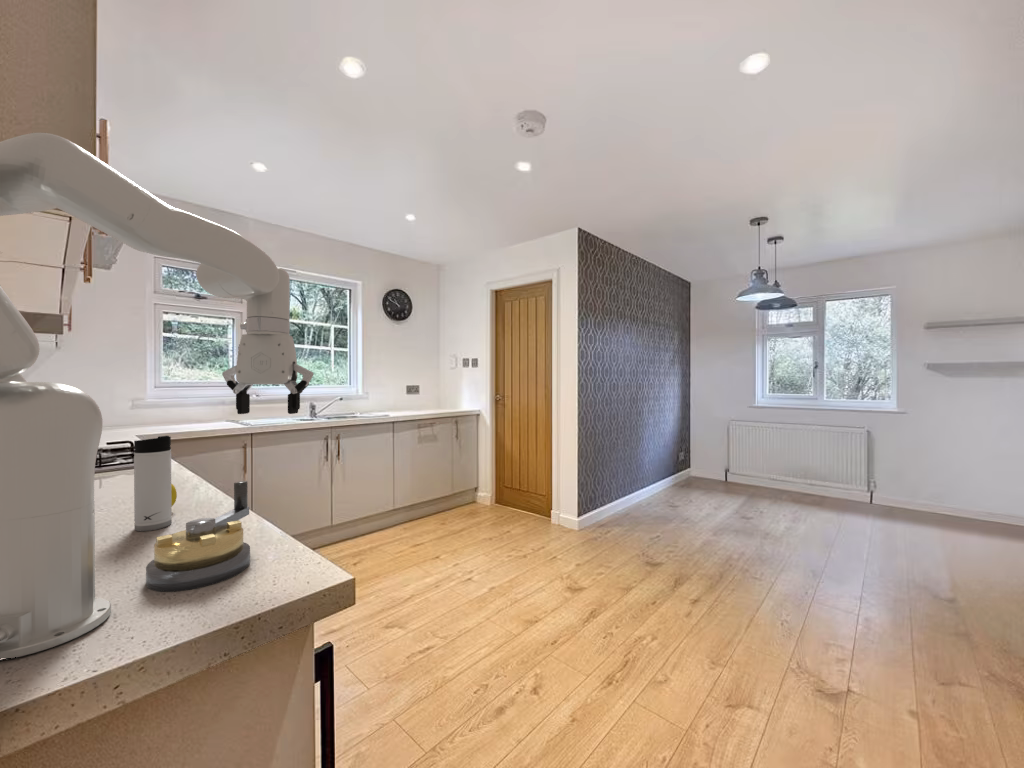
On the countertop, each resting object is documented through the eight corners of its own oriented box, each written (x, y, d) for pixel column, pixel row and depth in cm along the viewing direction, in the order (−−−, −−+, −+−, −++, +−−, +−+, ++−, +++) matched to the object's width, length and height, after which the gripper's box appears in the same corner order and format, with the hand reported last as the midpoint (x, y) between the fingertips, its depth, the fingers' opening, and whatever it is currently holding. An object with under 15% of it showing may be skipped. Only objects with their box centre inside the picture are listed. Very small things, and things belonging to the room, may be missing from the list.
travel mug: (151, 532, 90) (151, 438, 90) (126, 530, 91) (126, 437, 91) (180, 523, 96) (179, 434, 96) (156, 521, 97) (155, 433, 97)
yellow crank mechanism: (213, 569, 66) (213, 508, 65) (133, 570, 65) (133, 508, 65) (275, 529, 84) (275, 480, 84) (213, 529, 83) (212, 481, 83)
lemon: (182, 510, 106) (182, 478, 106) (161, 517, 100) (161, 483, 100) (163, 509, 107) (163, 477, 107) (141, 516, 101) (140, 482, 101)
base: (215, 590, 65) (215, 574, 65) (121, 592, 64) (121, 575, 64) (266, 553, 79) (266, 540, 79) (189, 554, 78) (189, 541, 78)
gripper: (212, 326, 82) (211, 415, 82) (304, 326, 83) (304, 414, 83) (234, 331, 89) (234, 412, 89) (319, 331, 90) (319, 412, 90)
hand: (268, 413), depth 86 cm, fingers open, 9 cm apart
